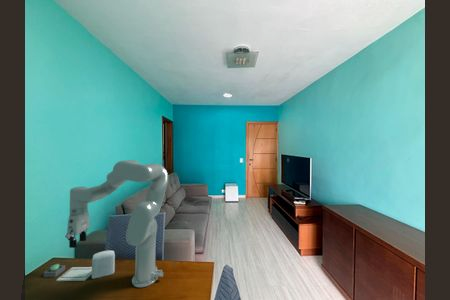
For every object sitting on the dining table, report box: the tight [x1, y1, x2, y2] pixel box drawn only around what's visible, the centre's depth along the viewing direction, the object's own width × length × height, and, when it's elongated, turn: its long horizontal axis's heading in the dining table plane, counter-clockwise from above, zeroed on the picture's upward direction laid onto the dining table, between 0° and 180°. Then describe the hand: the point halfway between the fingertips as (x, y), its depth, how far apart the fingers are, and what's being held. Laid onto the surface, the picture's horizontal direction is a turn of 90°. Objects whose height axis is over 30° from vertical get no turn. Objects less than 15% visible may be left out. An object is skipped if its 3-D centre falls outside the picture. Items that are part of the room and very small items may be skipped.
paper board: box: [56, 266, 92, 282], centre depth 97 cm, size 14×10×1 cm
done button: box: [49, 263, 60, 272], centre depth 98 cm, size 4×4×2 cm
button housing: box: [43, 264, 66, 278], centre depth 98 cm, size 6×6×2 cm
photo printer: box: [91, 250, 116, 280], centre depth 97 cm, size 10×4×12 cm, turn 116°
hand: (78, 243), depth 98 cm, fingers open, 6 cm apart
